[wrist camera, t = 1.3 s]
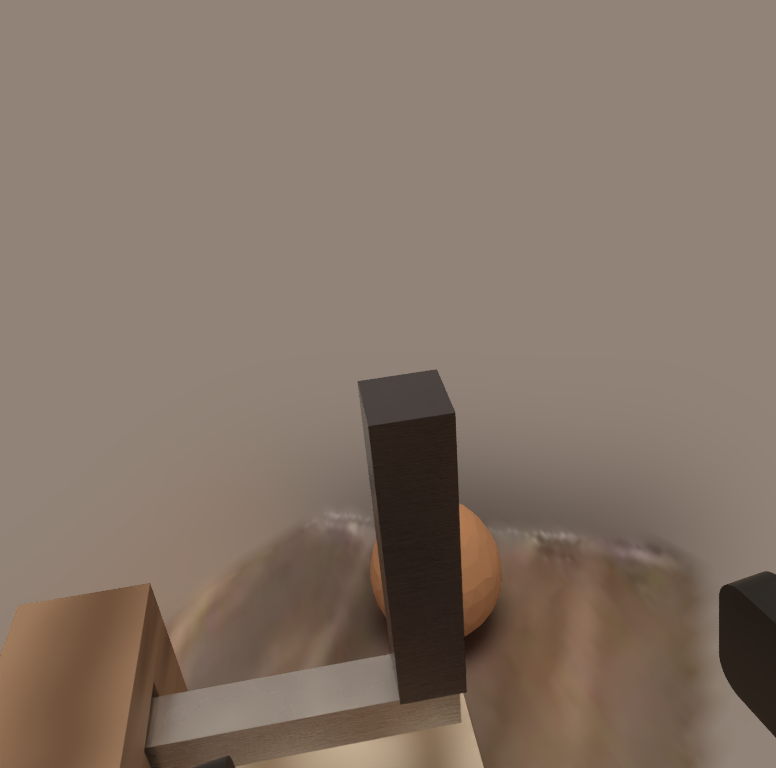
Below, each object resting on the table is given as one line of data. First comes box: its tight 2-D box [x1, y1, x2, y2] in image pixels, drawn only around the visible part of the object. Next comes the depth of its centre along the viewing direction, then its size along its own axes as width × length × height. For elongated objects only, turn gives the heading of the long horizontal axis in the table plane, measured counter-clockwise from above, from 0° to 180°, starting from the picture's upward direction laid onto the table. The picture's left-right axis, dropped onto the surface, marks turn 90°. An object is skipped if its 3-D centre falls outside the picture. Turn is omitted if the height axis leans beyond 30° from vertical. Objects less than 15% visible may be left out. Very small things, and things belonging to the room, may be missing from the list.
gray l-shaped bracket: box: [144, 370, 467, 768], centre depth 24 cm, size 19×2×14 cm, turn 99°
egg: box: [370, 504, 502, 636], centre depth 41 cm, size 7×7×8 cm
